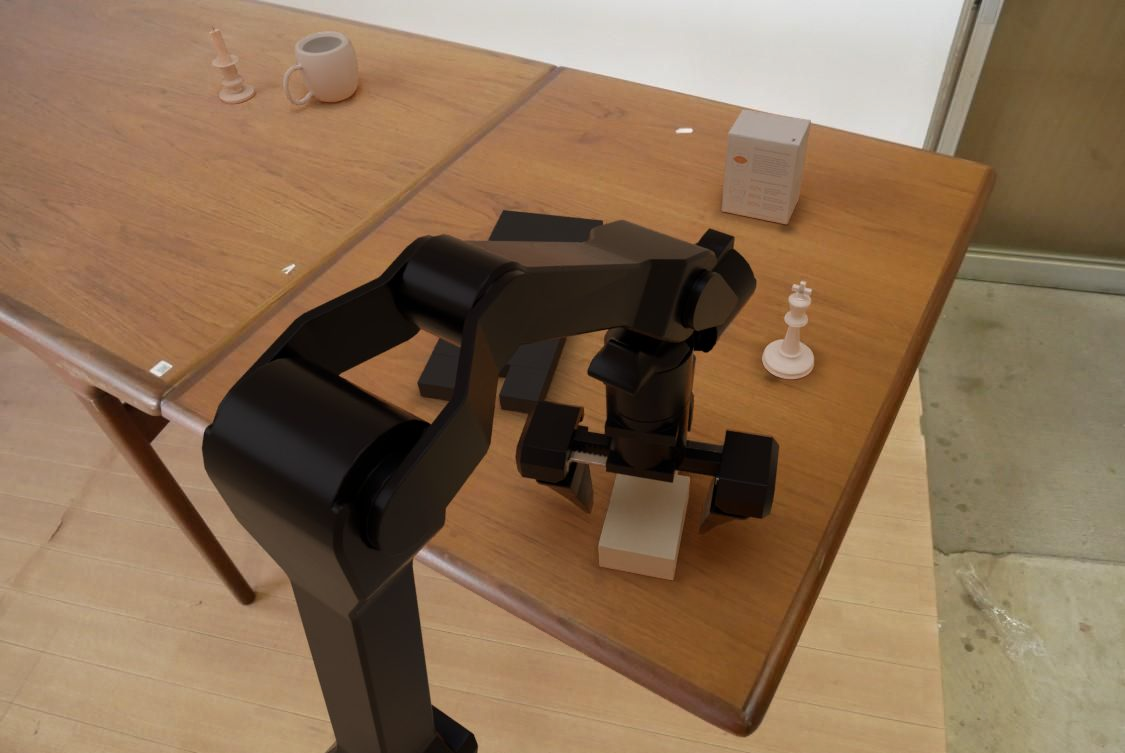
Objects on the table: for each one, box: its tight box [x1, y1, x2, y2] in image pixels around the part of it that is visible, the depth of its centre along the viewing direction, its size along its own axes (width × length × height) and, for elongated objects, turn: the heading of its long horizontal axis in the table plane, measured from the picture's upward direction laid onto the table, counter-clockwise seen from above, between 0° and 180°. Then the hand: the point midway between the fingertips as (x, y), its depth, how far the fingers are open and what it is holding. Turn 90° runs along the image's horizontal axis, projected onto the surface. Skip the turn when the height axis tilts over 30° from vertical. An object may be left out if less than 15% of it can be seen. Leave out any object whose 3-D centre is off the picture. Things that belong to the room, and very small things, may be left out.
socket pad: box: [417, 209, 604, 414], centre depth 89 cm, size 28×12×2 cm, turn 166°
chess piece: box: [761, 280, 815, 380], centre depth 78 cm, size 5×5×10 cm
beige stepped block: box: [597, 470, 691, 581], centre depth 70 cm, size 12×6×3 cm, turn 166°
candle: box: [209, 26, 256, 105], centre depth 122 cm, size 5×5×10 cm
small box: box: [721, 108, 812, 225], centre depth 95 cm, size 8×6×10 cm
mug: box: [282, 30, 360, 106], centre depth 120 cm, size 12×8×8 cm
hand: (644, 518), depth 68 cm, fingers open, 9 cm apart
